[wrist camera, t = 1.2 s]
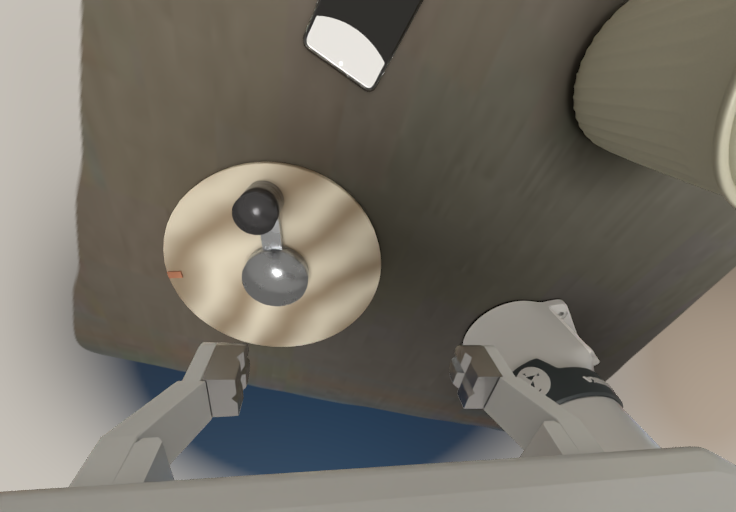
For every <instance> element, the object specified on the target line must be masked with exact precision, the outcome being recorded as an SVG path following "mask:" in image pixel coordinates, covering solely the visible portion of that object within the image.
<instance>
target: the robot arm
mask: <svg viewBox="0 0 736 512" xmlns="http://www.w3.org/2000/svg"><path fill="white" fill-rule="evenodd" d="M248 352H249V347H248V344H247V343H221V342H218V343H212V342H203V343H202V344H201V345H200V346H199V348H198V350H197V352H196V354H195V356H194V358H193V360H192V362H191V364H190V366H189V368H188V370H187V372H186V374H185V376H184V378H183V380H182V381H177V382H175V383H174V384H173V385H172V386H170V387H169V388H167V389H166V390H165V391H163V392H162V393H161V394H160V395H158V396H157V397H155V398H154V399H152V400H151V401H150V402H148V403H147V404H146V405H144V406H143V407H142V408H140V409H139V410H138V411H136V412H135V413H134V414H132V415H131V416H130V417H128V418H127V419H125V420H124V421H123V422H121V423H120V424H119V425H117V426H116V427H115V428H113V429H112V430H111V431H109V432H108V433H107V434H105V435H104V436H102V437H101V438H100V440H99V441H98V443H97V444H96V446H95V447H94V449H93V450H92V452H91V453H90V455H89V457H88V458H87V459H86V461H85V463H84V464H83V466H82V467H81V469H80V470H79V472H78V473H77V475H76V476H75V478H74V479H73V481H72V483H71V484H70V486H69V487H68V488H51V489H36V490H21V491H6V492H0V512H736V465H734V464H733V463H731V462H729V461H727V460H726V459H724V458H722V457H721V456H719V455H717V454H715V453H713V452H711V451H709V450H707V449H704V448H701V447H675V448H661V447H660V446H659V445H658V444H657V443H656V442H655V441H654V440H653V439H652V438H651V437H650V436H649V435H648V434H647V433H646V432H645V431H644V430H643V429H642V428H641V427H640V426H639V425H638V424H637V423H636V422H635V421H634V419H633V418H632V417H631V416H629V414H628V413H627V412H626V411H625V410H624V409H623V404H622V402H621V400H620V399H619V397H618V396H617V395H616V394H615V392H614V390H613V389H612V388H611V387H610V386H609V385H608V384H607V383H606V382H605V381H603V380H602V378H601V377H600V376H599V375H598V374H597V373H595V372H594V366H595V365H597V364H599V362H600V361H599V359H598V358H597V356H596V355H595V353H594V352H593V350H592V349H591V348H590V347H589V346H588V345H586V344H585V343H584V342H583V340H582V339H581V338H580V337H579V336H578V335H577V332H576V329H575V326H574V324H573V321H572V318H571V315H570V312H569V309H568V307H567V305H566V304H565V303H564V301H563V300H560V299H556V300H550V301H546V302H533V301H516V302H510V303H507V304H503V305H501V306H498V307H496V308H494V309H492V310H490V311H488V312H487V313H485V314H484V315H483V316H481V317H480V318H479V319H478V320H477V321H476V322H475V323H474V324H473V325H472V326H471V327H470V329H469V330H468V332H467V333H466V335H465V338H464V341H463V345H458V346H457V347H456V349H455V351H454V352H455V354H456V356H455V357H454V358H453V359H452V360H451V362H450V365H449V373H450V378H451V380H452V383H453V384H454V385H455V386H456V387H458V392H457V394H458V397H459V399H460V401H461V403H462V406H463V408H464V409H484V410H485V411H486V412H487V413H488V414H489V415H490V416H491V417H492V418H493V419H494V420H495V421H496V422H497V423H498V424H499V425H500V426H501V427H502V428H503V429H504V430H505V431H506V432H507V433H508V435H510V437H511V438H513V439H514V440H515V441H516V443H517V444H519V445H520V446H521V447H522V448H523V450H524V451H523V453H522V454H521V456H520V457H519V458H510V459H495V460H494V459H493V460H478V461H463V462H449V463H432V464H418V465H402V466H387V467H372V468H357V469H342V470H327V471H313V472H297V473H281V474H266V475H252V476H236V477H220V478H205V479H190V480H174V478H173V475H172V471H171V468H170V464H171V463H172V462H173V461H174V460H175V458H176V457H177V456H178V455H179V454H180V453H181V452H182V451H183V450H184V449H185V447H186V446H187V445H188V444H189V443H190V442H191V441H192V440H193V439H194V438H195V437H196V435H197V434H198V433H199V432H200V431H201V430H202V429H203V428H204V427H205V426H206V424H207V423H208V422H209V421H210V420H211V419H212V417H224V416H238V415H239V412H240V408H241V405H242V401H243V389H244V388H245V387H246V386H247V382H248V377H249V371H250V360H249V359H248V358H247V356H248Z"/></svg>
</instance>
